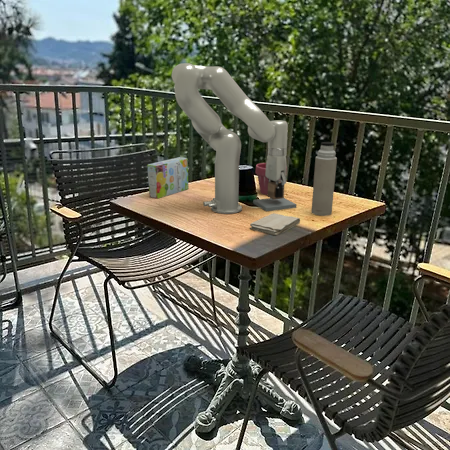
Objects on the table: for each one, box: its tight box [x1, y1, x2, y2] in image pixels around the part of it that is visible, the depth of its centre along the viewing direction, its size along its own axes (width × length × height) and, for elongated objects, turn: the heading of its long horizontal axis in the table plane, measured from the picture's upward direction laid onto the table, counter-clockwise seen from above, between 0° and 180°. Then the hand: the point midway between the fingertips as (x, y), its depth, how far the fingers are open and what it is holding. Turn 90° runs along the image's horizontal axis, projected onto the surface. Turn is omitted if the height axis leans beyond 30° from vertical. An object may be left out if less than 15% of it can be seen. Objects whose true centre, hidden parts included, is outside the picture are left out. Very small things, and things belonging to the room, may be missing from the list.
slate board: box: [252, 197, 297, 212], centre depth 182 cm, size 14×12×2 cm
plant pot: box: [255, 162, 288, 196], centre depth 199 cm, size 14×14×13 cm
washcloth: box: [249, 212, 301, 236], centre depth 158 cm, size 12×18×3 cm, turn 145°
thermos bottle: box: [311, 141, 338, 217], centre depth 169 cm, size 8×8×28 cm
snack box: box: [146, 156, 190, 200], centre depth 197 cm, size 21×6×15 cm, turn 144°
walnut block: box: [267, 182, 285, 199], centre depth 180 cm, size 5×5×6 cm
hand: (275, 194), depth 180 cm, fingers closed on walnut block, 5 cm apart
